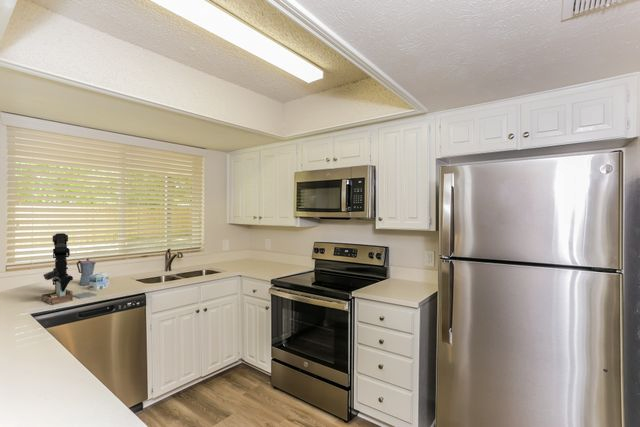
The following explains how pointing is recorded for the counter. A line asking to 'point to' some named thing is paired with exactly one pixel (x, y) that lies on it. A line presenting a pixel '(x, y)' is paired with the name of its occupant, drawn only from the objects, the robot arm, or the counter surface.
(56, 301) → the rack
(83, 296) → the mat
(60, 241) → the robot arm
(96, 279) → the light bulb box
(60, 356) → the counter surface
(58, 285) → the grey-green rectangular block
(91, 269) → the moka pot
